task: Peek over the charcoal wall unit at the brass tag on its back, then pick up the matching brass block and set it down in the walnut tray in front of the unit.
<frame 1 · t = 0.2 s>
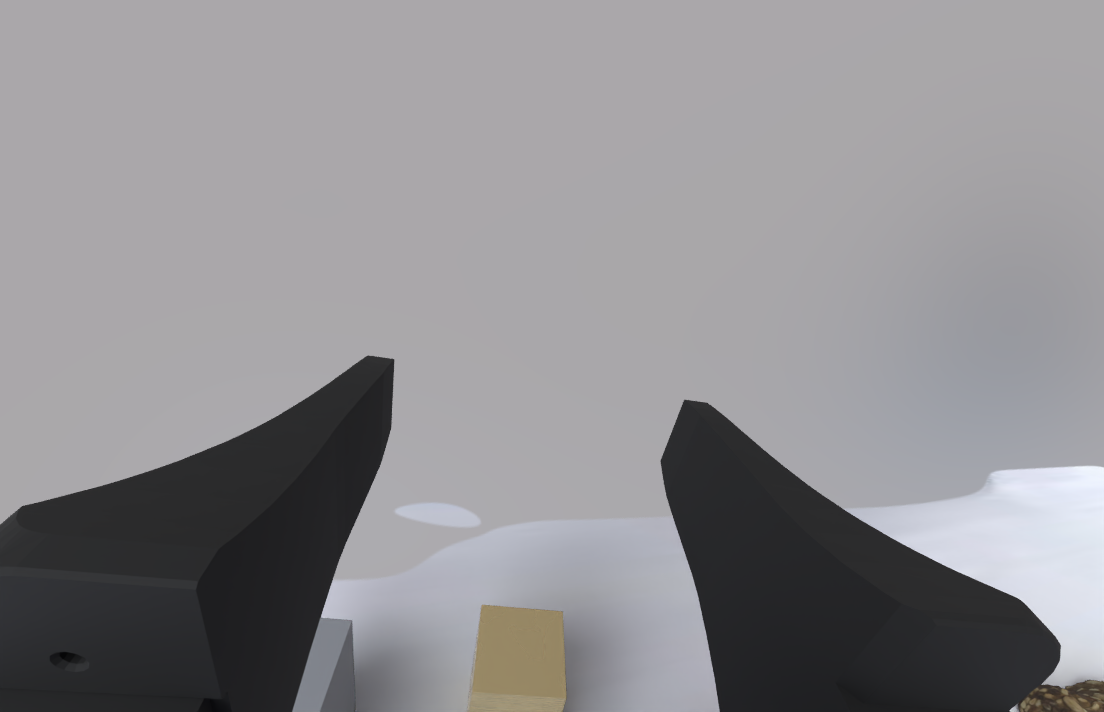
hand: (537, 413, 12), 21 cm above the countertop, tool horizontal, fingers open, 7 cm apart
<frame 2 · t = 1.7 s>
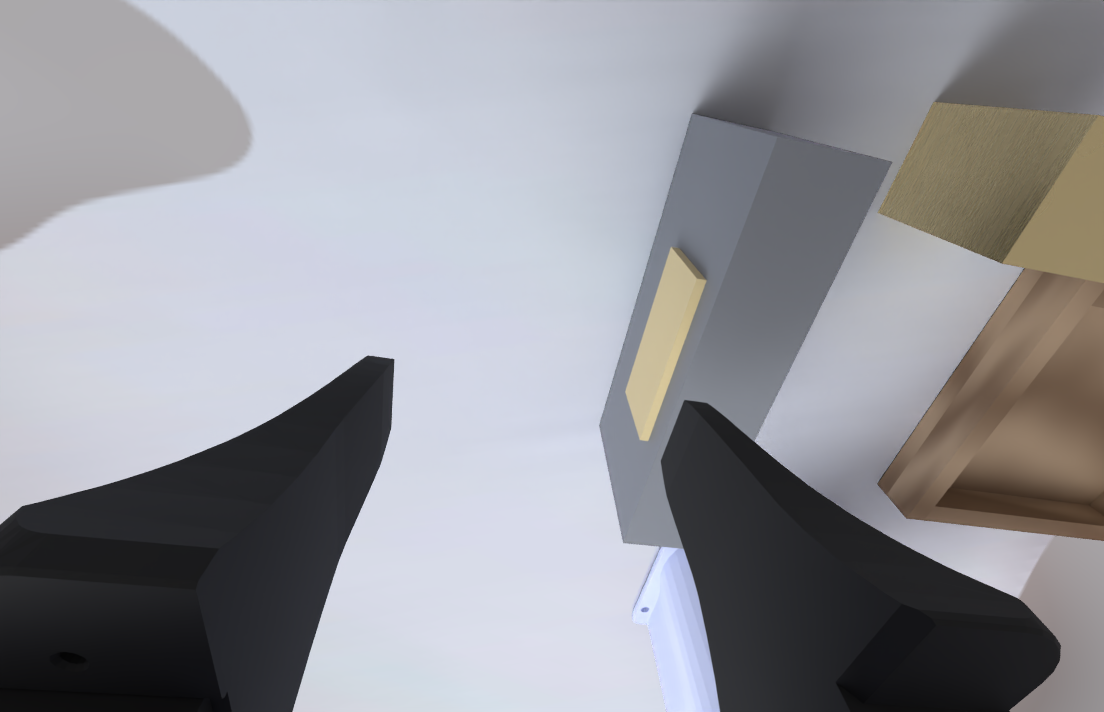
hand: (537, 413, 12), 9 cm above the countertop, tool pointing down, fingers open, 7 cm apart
brass block: (950, 170, 19), on the countertop
wall unit: (672, 300, 21), on the countertop
tray: (1059, 402, 25), on the countertop
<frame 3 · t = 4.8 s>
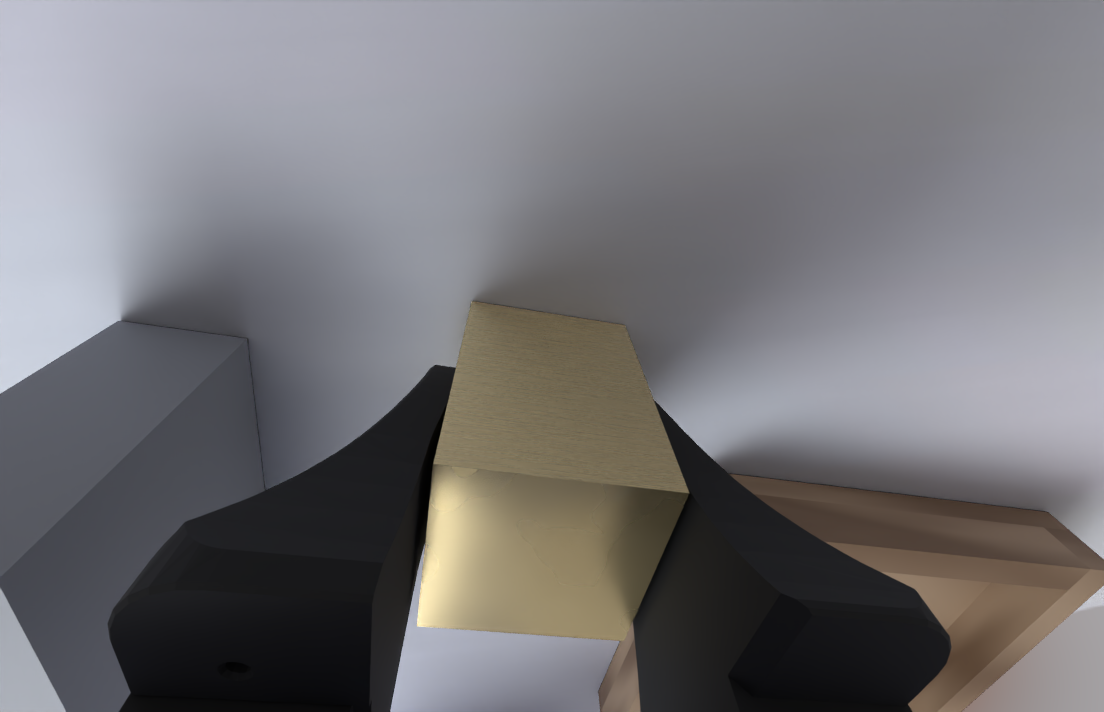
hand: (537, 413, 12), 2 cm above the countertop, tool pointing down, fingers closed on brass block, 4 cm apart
brass block: (536, 378, 14), on the countertop, touching gripper
wall unit: (219, 523, 16), on the countertop
tray: (797, 612, 20), on the countertop
when the fingers open (3 cm above the countertop, at t = 9.6 s): brass block stays where it is, resting on tray.
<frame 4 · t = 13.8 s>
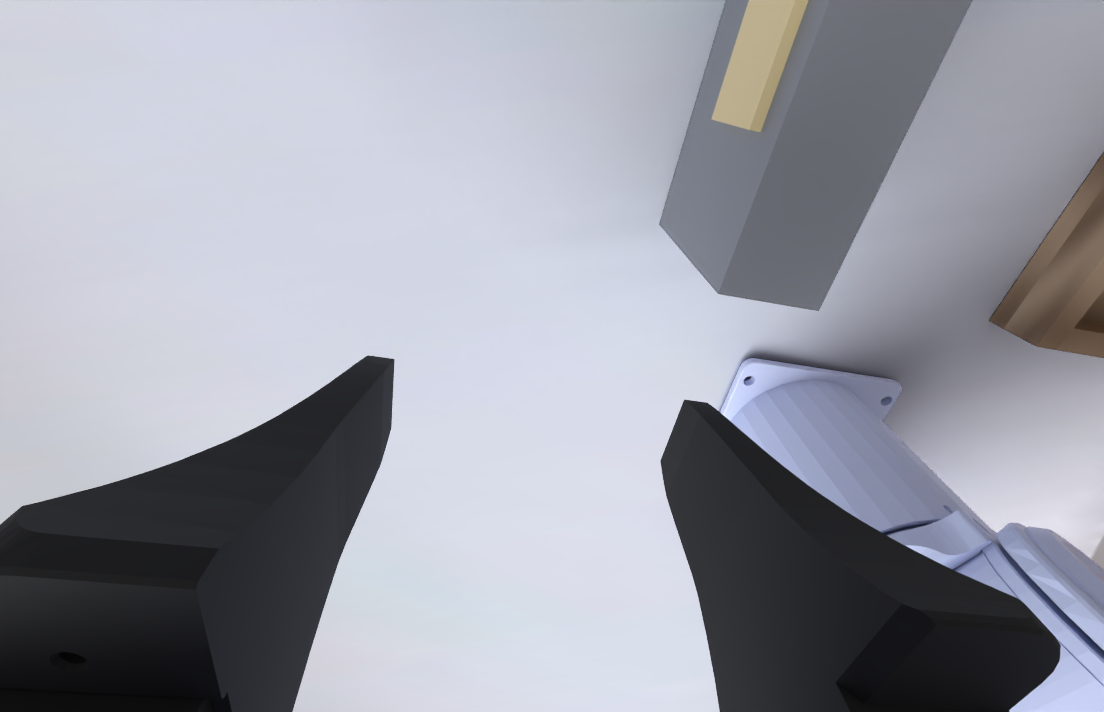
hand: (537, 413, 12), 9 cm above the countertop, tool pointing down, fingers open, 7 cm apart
wall unit: (764, 24, 17), on the countertop
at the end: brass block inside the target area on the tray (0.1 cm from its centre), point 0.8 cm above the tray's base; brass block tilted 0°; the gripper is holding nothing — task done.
